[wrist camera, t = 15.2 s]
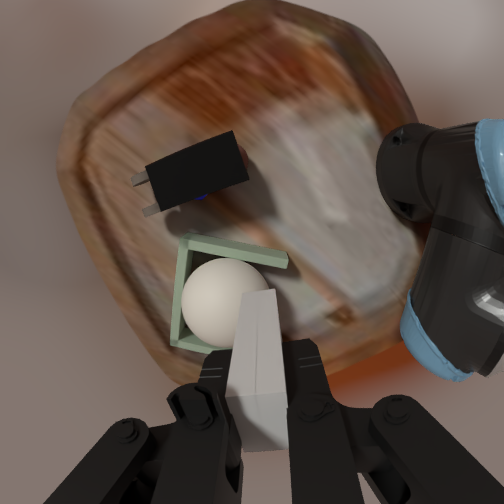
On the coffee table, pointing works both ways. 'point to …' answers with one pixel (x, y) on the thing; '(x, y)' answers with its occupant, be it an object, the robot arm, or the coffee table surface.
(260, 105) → the coffee table surface
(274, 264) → the green u-shaped channel
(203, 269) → the ball
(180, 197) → the figurine character
